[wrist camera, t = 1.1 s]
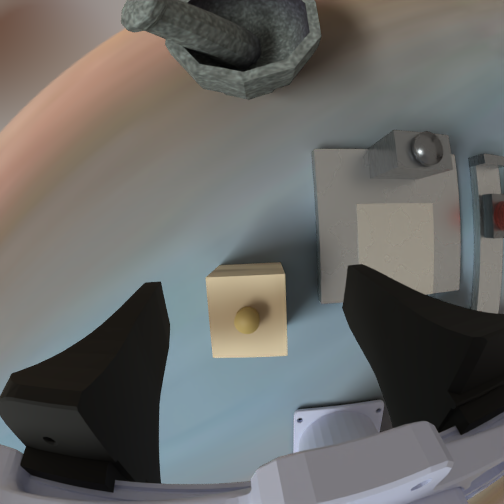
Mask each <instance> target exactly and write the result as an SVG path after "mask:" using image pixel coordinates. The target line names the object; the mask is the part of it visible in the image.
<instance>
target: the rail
mask: <svg viewBox="0 0 504 504" xmlns="http://www.w3.org/2000/svg"><path fill="white" fill-rule="evenodd" d="M468 159H469V167H470V176H471V186H472V199H473V217H474V271H473V289H472V302H471V309H472V310H477V311H482V312H488V313H496V314H498V312H499V303H500V292H501V279H502V258H503V238H484V216H483V198H482V195H483V194H501V188H500V178H499V169H498V168H501V167H504V157H503V156H496V155H490V154H481V155H478V156H474V157H471V158H468Z"/></svg>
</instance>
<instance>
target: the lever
mask: <svg viewBox="0 0 504 504" xmlns="http://www.w3.org/2000/svg"><path fill="white" fill-rule="evenodd" d="M482 198H483V216H484V238H504V194H483V195H482Z"/></svg>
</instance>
